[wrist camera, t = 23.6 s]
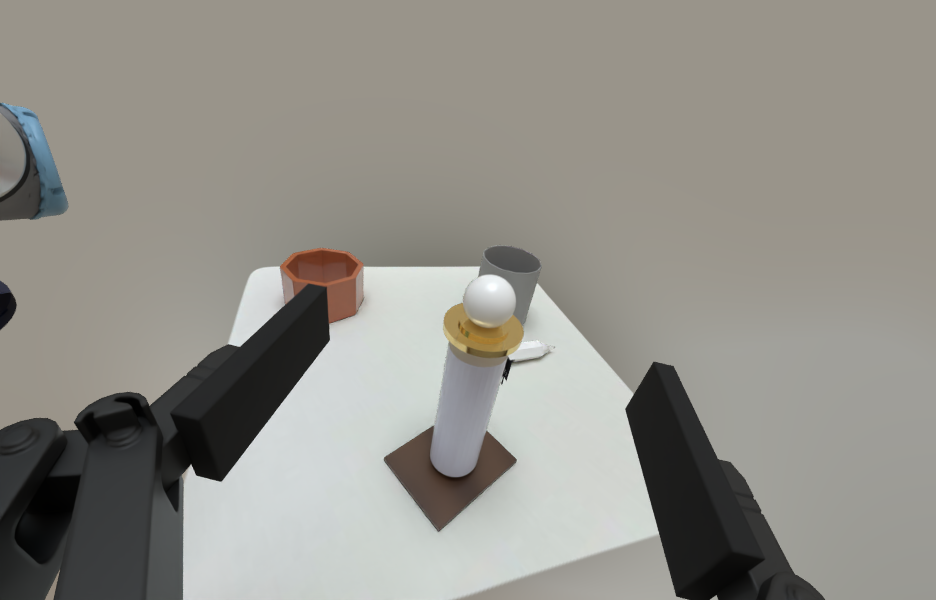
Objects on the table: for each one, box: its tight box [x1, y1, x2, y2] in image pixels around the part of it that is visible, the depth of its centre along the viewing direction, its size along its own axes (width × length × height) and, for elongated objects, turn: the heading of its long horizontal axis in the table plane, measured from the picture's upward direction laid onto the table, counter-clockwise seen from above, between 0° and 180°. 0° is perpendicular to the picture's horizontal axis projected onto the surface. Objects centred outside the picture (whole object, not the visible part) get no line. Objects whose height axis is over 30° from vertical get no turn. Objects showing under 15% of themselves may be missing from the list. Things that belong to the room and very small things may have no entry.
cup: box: [478, 245, 542, 326], centre depth 54 cm, size 8×8×10 cm
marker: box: [445, 340, 555, 362], centre depth 48 cm, size 3×2×16 cm
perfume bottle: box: [430, 274, 524, 477], centre depth 29 cm, size 6×6×20 cm
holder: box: [280, 248, 363, 323], centre depth 51 cm, size 10×10×6 cm
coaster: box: [384, 426, 517, 531], centre depth 35 cm, size 10×8×1 cm
